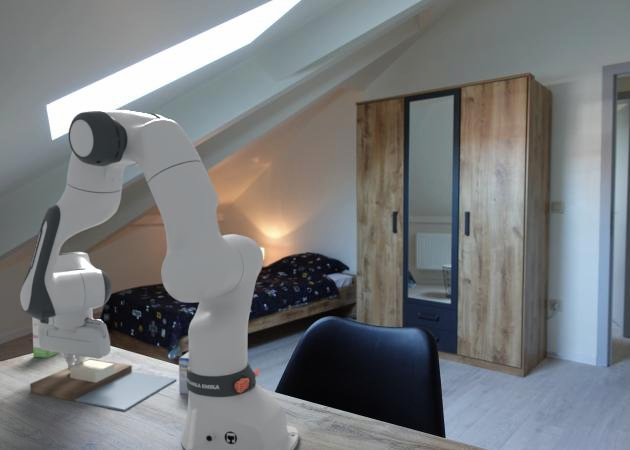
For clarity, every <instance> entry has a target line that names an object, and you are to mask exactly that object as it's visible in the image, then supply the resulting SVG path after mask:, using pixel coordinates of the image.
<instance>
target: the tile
mask: <svg viewBox="0 0 630 450" xmlns="http://www.w3.org/2000/svg"><path fill="white" fill-rule="evenodd" d="M87 360H88V359H87ZM84 361H85V362H84ZM84 361H83V363H81V364H78V365H76V366H73V367H71V368H70V378H74V379H79V380H84V381H90V382H95V383H96V382H98V381H100V380H102V379H104V378H106V377H108V376H111V375H113V374H114V364H112V363H106V362H100V361H94V360H88V361H86V360H84Z"/></svg>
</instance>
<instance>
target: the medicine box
mask: <svg viewBox="0 0 630 450" xmlns="http://www.w3.org/2000/svg"><path fill="white" fill-rule="evenodd" d="M188 366H189V351H187V352H186V353H184V354H183V355H182V356H181V357H179V358H178V375H179V377H178V378H179V379H178V380H179V383H178V386H179V387H178V388H179V390H178V391H179V392H178V393H179V394H184V395H189V392H188V388H187V367H188Z"/></svg>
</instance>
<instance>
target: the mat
mask: <svg viewBox="0 0 630 450" xmlns="http://www.w3.org/2000/svg"><path fill="white" fill-rule="evenodd" d="M176 381H177V378H173V377H169V376H168V377H167V376H162V375H161V376H160V375H155V374H150V373H144V372H143V373H142V372H137V371H133V370H132V371H131V372H129V373H127V374H125V375H123V376H121V377H119V378H117V379H115V380H113V381H111V382H109V383H107V384H105V385H103V386H101V387H99V388H97V389H95V390H93V391H91V392H89V393H87V394H85V395H83V396H81V397H79V398H77V399H75V401H74V402H77V403H78V402H79V403H82V404H87V405H91V406H93V405H94V406H98V407H101V408H107V409H111V410H115V411H122V412H126V411H127V410H129V409H131V408H132V407H134V406H136V405H138V404H140V403H141V402H142V401H145V400H146V399H148V398H149V397H151V396H153V395H154V394H156V393H157V392H159V391H161V390H163V389H164V388H167V387H168V386H170V385H171V384H173V383H174V382H176Z"/></svg>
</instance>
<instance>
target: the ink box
mask: <svg viewBox="0 0 630 450" xmlns="http://www.w3.org/2000/svg"><path fill="white" fill-rule="evenodd" d="M31 320H32V345H33V346H32V348H33V349H32V351H33V357H35V358H42V359H43V358H51V357H52V356H55V355H57V354H60V353H59V352H53V351H47V350H42V349H41V347H40V346H39V340H38V328H39V325H40V323H39V322H38V319H36V318H33V317H32V319H31Z"/></svg>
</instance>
